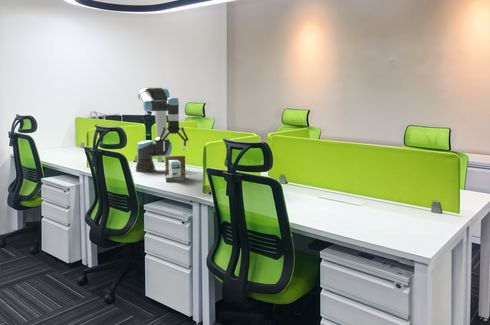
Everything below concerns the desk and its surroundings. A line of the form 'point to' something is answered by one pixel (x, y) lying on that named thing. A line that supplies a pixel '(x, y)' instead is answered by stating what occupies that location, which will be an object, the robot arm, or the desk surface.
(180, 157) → the brown box
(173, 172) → the light bulb box
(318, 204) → the desk surface
